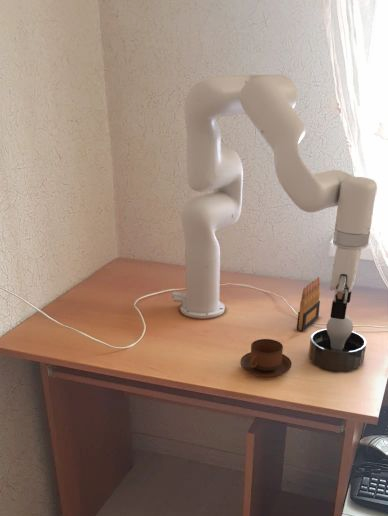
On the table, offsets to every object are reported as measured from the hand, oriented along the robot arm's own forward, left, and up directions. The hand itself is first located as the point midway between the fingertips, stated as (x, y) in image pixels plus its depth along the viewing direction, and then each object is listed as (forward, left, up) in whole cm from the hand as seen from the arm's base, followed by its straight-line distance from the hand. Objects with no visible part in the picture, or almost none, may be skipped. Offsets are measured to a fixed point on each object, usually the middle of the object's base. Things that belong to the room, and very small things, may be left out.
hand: (340, 309), depth 146 cm
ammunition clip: (-10, +19, -13) cm, 25 cm away
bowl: (0, 0, -13) cm, 13 cm away
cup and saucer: (-15, -10, -13) cm, 22 cm away
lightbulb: (0, 0, -13) cm, 13 cm away
